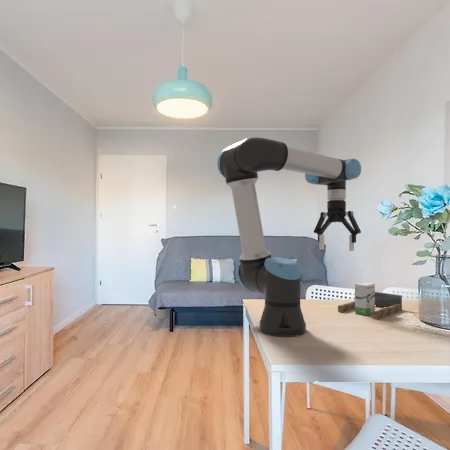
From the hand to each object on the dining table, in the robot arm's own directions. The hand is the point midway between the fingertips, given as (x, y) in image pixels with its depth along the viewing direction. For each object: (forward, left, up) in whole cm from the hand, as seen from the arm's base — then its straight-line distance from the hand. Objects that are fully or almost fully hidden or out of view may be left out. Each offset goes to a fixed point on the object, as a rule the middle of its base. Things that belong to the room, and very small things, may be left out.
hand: (336, 250), depth 143 cm
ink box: (+2, -11, -25) cm, 28 cm away
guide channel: (+6, -11, -25) cm, 28 cm away
